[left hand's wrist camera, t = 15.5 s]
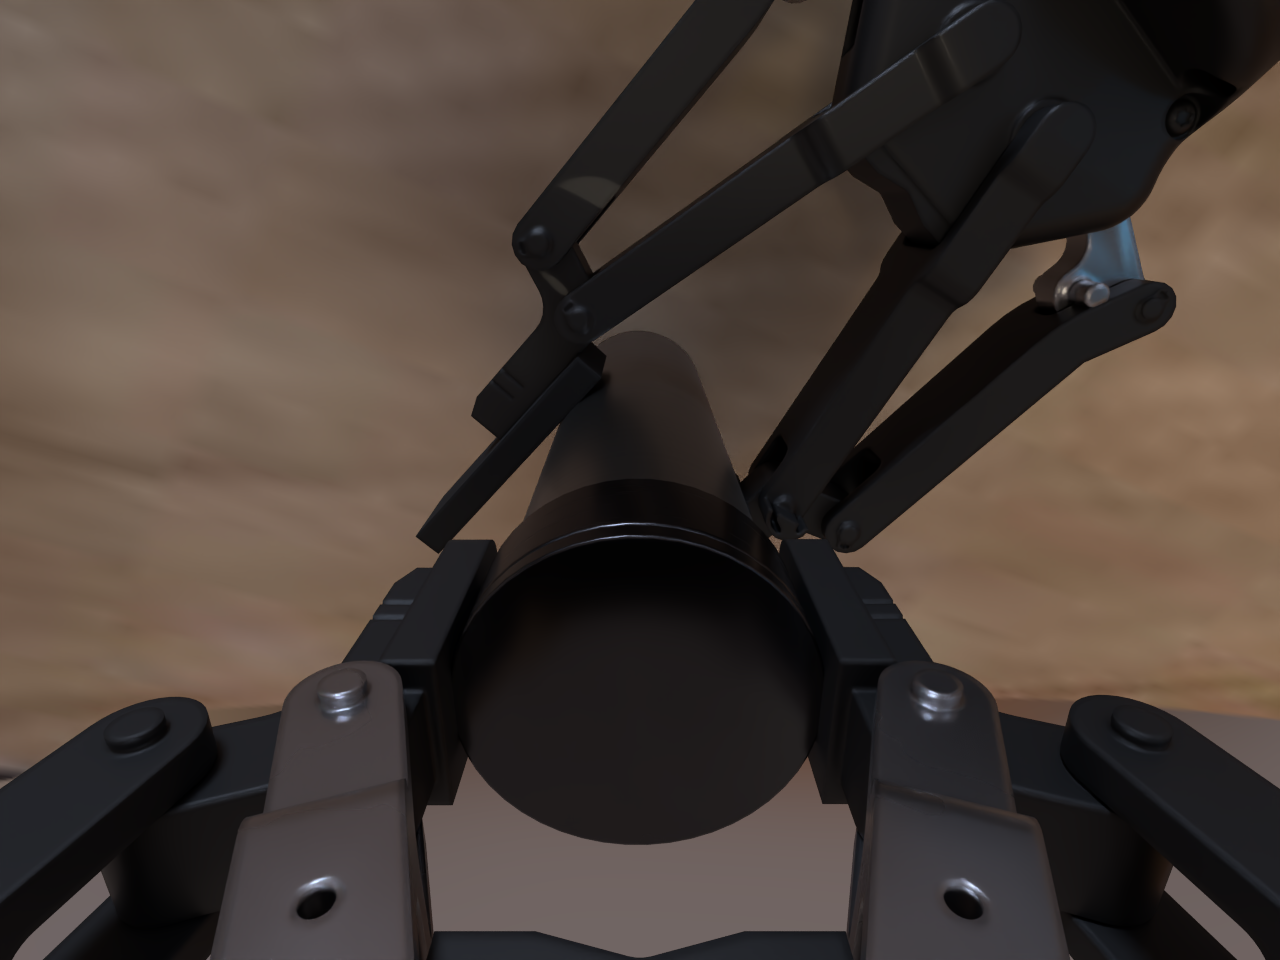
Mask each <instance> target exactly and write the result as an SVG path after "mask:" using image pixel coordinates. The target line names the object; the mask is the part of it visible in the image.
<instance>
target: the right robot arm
mask: <svg viewBox="0 0 1280 960" xmlns="http://www.w3.org/2000/svg"><path fill="white" fill-rule="evenodd" d="M773 1H774V0H695V1H694V2H693V4H692V5H691V6H690V8H689V9H688V10H687V11H686V13H685V14H684V15H683V16H682V18H681V19H680V20H679V21H678V23H677V24H676V25H675V26H674V28H673V29H672V30H671V31H670V33H669V34H668V35H667V36H666V38H665V39H664V40H663V42H662V43H661V44H660V45H659V47H658V48H657V49H656V50H655V52H654V53H653V54H652V55H651V57H650V58H649V59H648V60H647V62H646V63H645V64H644V65H643V67H642V68H641V69H640V71H639V72H638V73H637V74H636V76H635V77H634V78H633V79H632V81H631V82H630V83H629V84H628V86H627V87H626V88H625V89H624V91H623V92H622V93H621V94H620V96H619V97H618V98H617V100H616V101H615V102H614V103H613V105H612V106H611V107H610V108H609V110H608V111H607V112H606V113H605V115H604V116H603V117H602V118H601V120H600V121H599V122H598V123H597V125H596V126H595V127H594V129H593V130H592V131H591V132H590V134H589V135H588V136H587V137H586V139H585V140H584V141H583V142H582V144H581V145H580V146H579V147H578V149H577V150H576V151H575V152H574V154H573V155H572V156H571V157H570V159H569V160H568V161H567V163H566V164H565V165H564V166H563V168H562V169H561V170H560V171H559V173H558V174H557V175H556V176H555V178H554V179H553V180H552V181H551V183H550V184H549V185H548V186H547V188H546V189H545V190H544V192H543V193H542V194H541V195H540V197H539V198H538V199H537V200H536V202H535V203H534V204H533V205H532V207H531V208H530V209H529V210H528V212H527V213H526V214H525V215H524V217H523V218H522V219H521V221H520V222H519V223H518V224H517V226H516V228H515V230H514V232H513V237H512V247H513V250H514V253H515V256H516V257H517V258H518V260H519V261H520V262H521V264H523V265H525V266H526V268H527V270H528V272H529V273H530V275H531V277H532V279H533V281H534V283H535V284H536V286H537V288H538V290H539V292H540V294H541V297H542V301H543V315H542V318H541V321H540V323H539V325H538V326H537V328H536V329H535V330H534V332H533V333H532V334H531V335H530V336H529V337H528V339H527V340H526V341H525V342H524V343H523V344H522V345H521V347H520V348H519V349H518V350H517V351H516V352H515V354H514V355H513V356H512V357H511V358H510V359H509V360H508V362H507V363H506V364H505V365H504V366H503V367H502V369H501V370H500V371H499V372H498V373H497V374H496V375H495V377H494V378H493V379H492V380H491V381H490V382H489V384H488V385H487V386H486V387H485V388H484V389H483V390H482V392H481V393H480V394H479V395H478V396H477V398H476V402H475V405H474V408H473V411H472V415H471V416H472V417H473V418H474V419H475V420H477V421H478V422H479V423H480V424H481V425H483V426H484V427H485V428H486V429H487V430H489V431H490V432H491V433H492V434H493V435H495V436H496V438H495V440H494V441H493V442H492V443H491V444H490V445H489V446H488V447H487V449H486V450H485V451H484V452H483V453H482V454H481V455H480V456H479V457H478V459H477V460H476V461H475V462H474V463H473V464H472V465H471V466H470V467H469V469H468V470H467V471H466V472H465V473H464V474H463V475H462V476H461V477H460V479H459V480H458V481H457V482H456V483H455V484H454V485H453V486H452V487H451V489H450V490H449V491H448V492H447V493H446V494H445V495H444V496H443V498H442V499H441V501H440V502H439V504H438V505H437V506H436V508H435V509H434V511H433V512H432V514H431V515H430V517H429V518H428V519H427V521H426V522H425V524H424V525H423V527H422V528H421V530H420V531H419V532H418V534H417V535H416V537H417V538H418V539H420V540H421V541H422V542H423V543H425V544H426V545H427V546H429V547H430V548H431V549H433V550H434V551H435V552H437V553H438V554H439V553H440V552H441V551H442V550H443V548H444V547H445V546H446V544H447V542H448V541H449V540H452V539H453V538H454V537H455V535H456V534H457V533H458V532H459V531H460V530H461V529H462V528H463V527H464V526H465V525H466V524H467V523H468V521H469V520H470V519H471V518H472V517H473V516H474V515H475V514H476V513H477V512H478V511H479V510H480V509H481V507H482V506H483V505H484V504H485V503H486V502H487V501H488V500H489V499H490V498H491V497H492V496H493V494H494V493H495V492H496V491H497V490H498V489H499V488H500V487H501V486H502V485H503V484H504V483H505V482H506V480H507V479H508V478H509V477H510V476H511V475H512V474H513V473H514V472H515V471H516V470H517V469H518V467H519V466H520V465H521V464H522V463H523V462H524V461H525V460H526V459H527V458H528V457H529V456H530V455H531V453H532V452H533V451H534V450H535V449H536V448H537V447H538V446H539V445H540V444H541V443H542V442H543V441H544V439H545V438H546V437H547V436H548V435H549V434H550V433H551V432H552V431H553V430H554V429H555V428H556V426H557V425H558V424H559V423H560V422H561V421H562V420H563V419H564V418H565V417H566V416H567V415H568V414H569V412H570V411H571V410H572V409H573V408H574V407H575V406H576V405H577V404H578V403H579V402H580V401H581V399H582V398H583V397H584V396H585V395H586V394H587V393H588V392H589V391H590V390H591V389H592V388H593V387H594V385H595V384H596V383H597V382H598V381H599V380H600V379H601V376H602V372H603V368H604V364H605V361H606V357H607V356H606V355H605V354H604V353H603V352H602V351H601V350H600V349H599V348H597V347H596V346H595V345H594V344H593V343H592V341H594V340H596V339H597V338H598V337H600V336H601V335H603V334H604V333H606V332H607V331H609V330H610V329H612V328H613V327H614V326H616V325H617V324H619V323H620V322H622V321H623V320H625V319H626V318H628V317H629V316H631V315H632V314H633V313H635V312H636V311H638V310H639V309H641V308H642V307H644V306H645V305H647V304H648V303H649V302H651V301H652V300H654V299H655V298H657V297H658V296H660V295H661V294H663V293H664V292H666V291H667V290H668V289H670V288H671V287H673V286H674V285H676V284H677V283H679V282H680V281H682V280H683V279H684V278H686V277H687V276H689V275H690V274H692V273H693V272H695V271H696V270H698V269H699V268H701V267H702V266H703V265H705V264H706V263H708V262H709V261H711V260H712V259H714V258H715V257H717V256H718V255H719V254H721V253H722V252H724V251H725V250H727V249H728V248H730V247H731V246H733V245H734V244H736V243H737V242H738V241H740V240H741V239H743V238H744V237H746V236H747V235H749V234H750V233H752V232H753V231H754V230H756V229H757V228H759V227H760V226H762V225H763V224H765V223H766V222H768V221H769V220H770V219H772V218H773V217H775V216H776V215H778V214H779V213H781V212H782V211H784V210H785V209H787V208H788V207H789V206H791V205H792V204H794V203H795V202H797V201H798V200H800V199H801V198H803V197H804V196H805V195H807V194H808V193H810V192H811V191H813V190H814V189H816V188H817V187H819V186H820V185H822V184H824V183H825V182H827V181H829V180H831V179H833V178H835V177H837V176H838V175H840V174H842V173H843V172H845V171H846V170H848V171H849V172H850V173H851V175H852V176H853V177H855V178H856V179H858V180H860V181H861V182H863V183H865V184H866V185H868V186H869V187H871V188H873V189H874V190H876V191H878V192H879V193H880V194H881V196H882V198H883V200H884V202H885V204H886V206H887V209H888V211H889V213H890V215H891V217H892V219H893V221H894V223H895V224H896V225H897V227H898V228H899V229H900V230H901V231H902V232H901V233H900V235H899V236H898V238H897V239H896V241H895V242H894V244H893V245H892V247H891V248H890V250H889V251H888V253H887V254H886V256H885V258H884V259H883V262H882V264H881V268H880V273H879V276H878V278H877V279H876V281H875V282H874V284H873V285H872V287H871V288H870V290H869V291H868V293H867V294H866V296H865V297H864V299H863V300H862V302H861V303H860V305H859V306H858V307H857V309H856V310H855V312H854V313H853V315H852V316H851V318H850V319H849V321H848V322H847V324H846V325H845V327H844V328H843V330H842V331H841V333H840V334H839V336H838V337H837V339H836V340H835V342H834V343H833V345H832V346H831V347H830V349H829V350H828V352H827V353H826V355H825V356H824V358H823V359H822V361H821V362H820V364H819V365H818V367H817V368H816V370H815V371H814V373H813V374H812V376H811V377H810V379H809V380H808V382H807V383H806V385H805V386H804V387H803V389H802V390H801V392H800V393H799V395H798V396H797V398H796V399H795V401H794V402H793V404H792V405H791V407H790V408H789V410H788V411H787V413H786V414H785V416H784V417H783V419H782V420H781V422H780V423H779V425H778V426H777V427H776V429H775V430H774V432H773V433H772V435H771V436H770V438H769V439H768V441H767V442H766V444H765V445H764V447H763V448H762V450H761V451H760V453H759V454H758V456H757V457H756V459H755V460H754V462H753V463H752V465H751V467H750V469H749V472H748V476H747V477H746V478H745V479H744V480H743V481H741V482H740V480H739V477H738V475H737V474H735V475H736V478H737V480H738V483H739V486H740V488H741V491H742V494H743V496H744V499H745V502H746V504H747V507H748V510H749V513H750V515H751V518H752V521H753V522H754V523H755V524H756V525H757V526H758V527H759V528H760V529H761V530H762V531H763V532H764V533H765V534H766V536H767V537H768V538H769V537H770V536H772V535H773V536H774V537H775V538H777V539H781V540H783V539H798V538H800V537H802V536H804V535H805V534H806V533H808V534H811V535H813V536H816V537H818V538H821V539H826V540H828V542H829V543H830V545H831V547H832V548H833V549H834V550H835V551H837V552H842V553H849V552H855V551H856V550H858V549H860V548H862V547H863V546H864V545H866V544H867V543H868V542H869V541H870V540H872V539H873V538H874V537H875V536H876V535H878V534H879V533H880V532H881V531H882V530H884V529H885V528H886V527H887V526H888V525H890V524H891V523H892V522H893V521H894V520H896V519H897V518H898V517H899V516H900V515H902V514H903V513H904V512H905V511H906V510H908V509H909V508H910V507H911V506H912V505H914V504H915V503H916V502H917V501H918V500H920V499H921V498H922V497H923V496H924V495H926V494H927V493H928V492H929V491H930V490H932V489H933V488H934V487H935V486H936V485H938V484H939V483H940V482H941V481H942V480H944V479H945V478H946V477H947V476H948V475H950V474H951V473H952V472H953V471H954V470H956V469H957V468H958V467H959V466H960V465H962V464H963V463H964V462H965V461H966V460H968V459H969V458H970V457H971V456H972V455H974V454H975V453H976V452H977V451H978V450H980V449H981V448H982V447H983V446H984V445H986V444H987V443H988V442H989V441H990V440H992V439H993V438H994V437H995V436H996V435H998V434H999V433H1000V432H1001V431H1002V430H1004V429H1005V428H1006V427H1007V426H1008V425H1010V424H1011V423H1012V422H1013V421H1014V420H1016V419H1017V418H1018V417H1019V416H1020V415H1022V414H1023V413H1024V412H1025V411H1026V410H1028V409H1029V408H1030V407H1031V406H1032V405H1034V404H1035V403H1036V402H1037V401H1038V400H1040V399H1041V398H1042V397H1043V396H1044V395H1046V394H1047V393H1048V392H1049V391H1050V390H1052V389H1053V388H1054V387H1055V386H1056V385H1058V384H1059V383H1060V382H1061V381H1062V380H1064V379H1065V378H1066V377H1067V376H1068V375H1070V374H1071V373H1072V372H1073V371H1074V370H1076V369H1077V368H1078V367H1079V366H1080V365H1082V364H1083V363H1084V362H1086V361H1089V360H1091V359H1093V358H1096V357H1098V356H1100V355H1102V354H1105V353H1107V352H1109V351H1111V350H1114V349H1116V348H1118V347H1121V346H1123V345H1125V344H1127V343H1130V342H1132V341H1134V340H1137V339H1139V338H1141V337H1143V336H1146V335H1148V334H1150V333H1152V332H1155V331H1156V330H1158V329H1159V328H1161V327H1163V326H1164V325H1165V324H1166V323H1167V322H1168V321H1169V319H1170V318H1171V317H1172V315H1173V313H1174V310H1175V308H1176V295H1175V293H1174V291H1173V289H1172V288H1171V287H1170V286H1168V285H1167V284H1165V283H1162V282H1155V281H1148V280H1145V279H1144V276H1143V272H1142V268H1141V263H1140V259H1139V254H1138V250H1137V246H1136V241H1135V237H1134V232H1133V228H1132V223H1131V219H1130V216H1132V215H1133V214H1134V213H1135V212H1136V211H1137V210H1138V209H1139V208H1140V207H1141V206H1142V205H1143V203H1144V202H1145V201H1146V199H1147V198H1148V196H1149V195H1150V193H1151V191H1152V189H1153V187H1154V185H1155V183H1156V181H1157V178H1158V176H1159V174H1160V172H1161V170H1162V169H1163V167H1164V165H1165V164H1166V162H1167V160H1168V159H1169V157H1170V156H1171V155H1172V153H1173V152H1174V151H1175V149H1176V148H1177V147H1178V146H1179V145H1180V144H1181V143H1182V142H1183V141H1184V140H1185V139H1186V138H1187V137H1188V136H1190V135H1191V134H1192V133H1193V132H1195V131H1196V130H1197V129H1199V128H1200V127H1201V126H1203V125H1204V124H1205V123H1207V122H1208V121H1209V120H1211V119H1212V118H1213V117H1215V116H1216V115H1217V114H1219V113H1220V112H1221V111H1222V110H1224V109H1225V108H1226V107H1227V106H1229V105H1230V104H1231V103H1232V102H1234V101H1235V100H1236V99H1237V98H1238V97H1240V96H1241V95H1242V94H1243V93H1244V92H1245V91H1246V90H1248V89H1249V88H1250V87H1251V86H1252V85H1253V84H1254V83H1255V82H1256V81H1257V80H1259V79H1260V78H1261V77H1262V76H1263V75H1264V74H1265V73H1266V72H1267V71H1268V70H1270V69H1271V68H1272V67H1273V66H1274V65H1275V64H1276V63H1277V62H1278V61H1279V60H1280V0H853V1H852V6H851V11H850V16H849V21H848V26H847V31H846V36H845V41H844V46H843V51H842V56H841V61H840V66H839V71H838V76H837V81H836V86H835V91H834V96H833V101H832V102H831V103H830V104H829V105H827V106H826V107H824V108H823V109H822V110H820V111H819V112H817V113H816V114H815V115H813V116H812V117H810V118H809V119H808V120H806V121H805V122H803V123H802V124H801V125H799V126H798V127H796V128H795V129H793V130H792V131H791V132H789V133H788V134H787V135H785V136H784V137H783V138H781V139H780V140H779V141H778V142H776V143H775V144H773V145H772V146H771V147H769V148H768V149H767V150H765V151H764V152H762V153H761V154H759V155H758V156H757V157H755V158H754V159H752V160H751V161H750V162H748V163H747V164H745V165H744V166H743V167H741V168H740V169H738V170H737V171H736V172H734V173H733V174H731V175H730V176H729V177H727V178H726V179H724V180H723V181H722V182H720V183H719V184H717V185H716V186H714V187H713V188H712V189H710V190H709V191H707V192H706V193H705V194H703V195H702V196H700V197H699V198H698V199H696V200H695V201H693V202H692V203H691V204H689V205H688V206H686V207H685V208H684V209H682V210H681V211H679V212H678V213H677V214H675V215H674V216H672V217H671V218H670V219H668V220H667V221H665V222H664V223H662V224H661V225H660V226H658V227H657V228H655V229H654V230H653V231H651V232H650V233H648V234H647V235H646V236H644V237H643V238H641V239H640V240H639V241H637V242H636V243H634V244H633V245H632V246H630V247H629V248H627V249H626V250H625V251H623V252H622V253H620V254H619V255H617V256H616V257H615V258H613V259H612V260H610V261H609V262H608V263H606V264H605V265H603V266H602V267H601V268H599V269H598V270H596V271H595V272H594V273H593V272H592V270H591V268H590V266H589V264H588V262H587V260H586V258H585V256H584V255H583V253H582V251H581V249H580V247H579V245H578V244H579V243H580V241H581V240H582V239H583V238H584V237H585V235H586V234H587V233H588V232H589V231H590V229H591V228H592V227H593V226H594V225H595V223H596V222H597V221H598V220H599V219H600V217H601V216H602V215H603V214H604V213H605V211H606V210H607V209H608V208H609V207H610V205H611V204H612V203H613V202H614V201H615V199H616V198H617V197H618V196H619V195H620V193H621V192H622V191H623V190H624V189H625V187H626V186H627V185H628V184H629V183H630V181H631V180H632V179H633V178H634V177H635V175H636V174H637V173H638V172H639V171H640V169H641V168H642V167H643V166H644V165H645V163H646V162H647V161H648V160H649V159H650V157H651V156H652V155H653V154H654V153H655V151H656V150H657V149H658V148H659V147H660V145H661V144H662V143H663V142H664V141H665V139H666V138H667V137H668V136H669V135H670V133H671V132H672V131H673V130H674V129H675V127H676V126H677V125H678V124H679V123H680V121H681V120H682V119H683V118H684V117H685V115H686V114H687V113H688V112H689V111H690V109H691V108H692V107H693V106H694V105H695V103H696V102H697V101H698V100H699V99H700V97H701V96H702V95H703V94H704V92H705V91H706V90H707V89H708V88H709V86H710V85H711V84H712V83H713V82H714V80H715V79H716V78H717V77H718V76H719V74H720V73H721V72H722V71H723V70H724V68H725V67H726V66H727V65H728V64H729V62H730V61H731V60H732V59H733V58H734V56H735V55H736V54H737V53H738V52H739V50H740V49H741V48H742V47H743V46H744V44H745V43H746V42H747V40H748V39H749V38H750V36H751V35H752V34H753V32H754V31H755V30H756V28H757V27H758V25H759V24H760V22H761V20H762V19H763V17H764V16H765V14H766V12H767V11H768V9H769V8H770V6H771V5H772V3H773ZM783 1H785V2H789V3H801V2H804V1H806V0H783ZM1063 238H1067V243H1066V248H1065V251H1064V253H1063V255H1062V257H1061V258H1060V259H1059V261H1058V262H1057V263H1056V264H1055V265H1053V266H1052V267H1051V268H1049V269H1048V270H1047V271H1046V272H1044V273H1043V275H1041V276H1039V277H1038V278H1037V279H1036V280H1035V282H1034V284H1033V291H1034V293H1035V297H1034V298H1032V299H1030V300H1029V301H1027V302H1025V303H1023V304H1021V305H1020V306H1018V307H1016V308H1015V309H1013V310H1012V311H1010V312H1009V313H1007V314H1006V315H1005V316H1003V317H1002V318H1001V319H1000V320H998V321H997V322H996V323H995V324H993V325H992V326H991V327H990V328H989V329H987V330H986V331H985V332H984V333H983V334H982V335H981V336H980V337H978V338H977V339H976V340H975V341H974V342H973V343H972V344H971V345H969V346H968V347H967V348H966V349H965V350H964V351H963V352H962V353H960V354H959V355H958V356H957V357H956V358H955V359H954V360H952V361H951V362H950V363H949V364H948V365H947V366H946V367H945V368H943V369H942V370H941V371H940V372H939V373H938V374H937V375H936V376H934V377H933V378H932V379H931V380H930V381H929V382H928V383H927V384H925V385H924V386H923V387H922V388H921V389H920V390H919V391H918V392H916V393H915V394H914V395H913V396H912V397H911V398H910V399H909V400H907V401H906V402H905V403H904V404H903V405H902V406H901V407H899V408H898V409H897V410H896V411H895V412H894V413H893V414H892V415H890V416H889V417H888V418H887V419H886V420H885V421H884V422H883V423H881V424H880V425H879V426H878V427H877V428H876V429H875V430H874V431H872V432H871V433H870V434H869V435H868V436H867V437H866V438H865V439H863V440H862V441H861V442H860V443H859V444H858V445H857V446H855V445H856V444H857V443H858V441H859V440H860V438H861V437H862V436H863V434H864V433H865V432H866V430H867V429H868V427H869V426H870V425H871V423H872V422H873V421H874V419H875V418H876V416H877V415H878V414H879V412H880V411H881V410H882V408H883V407H884V405H885V404H886V403H887V401H888V400H889V399H890V397H891V396H892V394H893V393H894V392H895V390H896V389H897V388H898V386H899V385H900V383H901V382H902V381H903V379H904V378H905V377H906V375H907V374H908V372H909V371H910V370H911V368H912V367H913V366H914V364H915V363H916V361H917V360H918V359H919V357H920V356H921V355H922V353H923V352H924V350H925V349H926V348H927V346H928V345H929V344H930V342H931V341H932V339H933V338H934V337H935V335H936V334H937V332H938V331H939V330H940V328H941V327H942V326H943V324H944V323H945V321H946V320H947V319H948V317H949V316H950V315H951V314H952V313H953V312H954V311H955V310H956V309H957V308H959V307H961V306H963V305H965V304H967V303H968V302H969V301H970V300H971V299H972V298H974V296H975V295H976V294H977V293H978V292H979V291H980V289H981V288H982V286H983V285H984V284H985V282H986V281H987V280H988V278H989V277H990V275H991V274H992V273H993V271H994V270H995V269H996V267H997V266H998V265H999V263H1000V262H1001V260H1002V259H1003V258H1004V256H1005V255H1006V254H1007V252H1008V251H1009V250H1010V249H1012V248H1017V247H1022V246H1027V245H1032V244H1038V243H1043V242H1048V241H1053V240H1058V239H1063Z"/></svg>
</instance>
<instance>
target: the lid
mask: <svg viewBox="0 0 1280 960" xmlns="http://www.w3.org/2000/svg"><path fill="white" fill-rule="evenodd" d="M451 677H452V687H453V696H454V705H455V713H456V722H457V730H458V736H459V739H460V741H461V744H462V746H463V748H464V751H465V753H466V754H467V756H468V757H469V759H470V761H471V762H472V764H473V765H474V767H475V769H476V770H477V771H478V772H479V774H480V775H481V776H482V777H483V778H484V780H485V781H486V782H487V783H488V785H489V786H490V787H492V788H493V789H494V790H495V791H496V792H497V793H498V794H499V795H500V796H501V797H502V798H503V799H504V800H506V801H507V802H509V803H510V804H511V805H513V806H514V807H515V808H517V809H518V810H520V811H521V812H522V813H524V814H526V815H528V816H529V817H531V818H533V819H535V820H536V821H538V822H540V823H542V824H545V825H547V826H549V827H552V828H554V829H556V830H558V831H561V832H564V833H567V834H571V835H574V836H577V837H580V838H584V839H589V840H594V841H599V842H604V843H614V844H624V845H651V844H661V843H671V842H676V841H681V840H687V839H691V838H695V837H698V836H702V835H705V834H708V833H712V832H714V831H717V830H719V829H722V828H724V827H726V826H729V825H731V824H733V823H735V822H737V821H739V820H741V819H742V818H744V817H746V816H748V815H750V814H751V813H753V812H754V811H756V810H757V809H759V808H760V807H761V806H763V805H764V804H766V803H767V802H768V801H770V800H771V799H772V798H773V797H774V796H775V795H776V794H777V793H779V792H780V791H781V790H782V789H783V788H784V787H785V786H786V785H787V784H788V782H789V781H790V780H791V779H792V778H793V777H794V775H795V774H796V773H797V772H798V771H799V769H800V767H801V766H802V764H803V763H804V761H805V760H806V758H807V757H808V755H809V753H810V751H811V749H812V747H813V745H814V742H815V740H816V738H817V733H818V726H819V717H820V709H821V700H822V691H823V682H824V665H823V660H822V655H821V652H820V649H819V646H818V644H817V641H816V638H815V636H814V633H813V631H812V628H811V626H810V623H809V621H808V619H807V616H806V614H805V611H804V609H803V607H802V604H801V602H800V599H799V597H798V595H797V592H796V590H795V587H794V585H793V583H792V580H791V578H790V575H789V573H788V571H787V568H786V566H785V564H784V562H783V560H782V558H781V556H780V555H779V553H778V551H777V549H776V548H775V546H774V545H773V544H772V542H771V541H770V540H769V538H768V537H767V536H766V534H765V533H764V532H763V531H762V530H761V529H760V528H759V527H758V526H757V525H756V524H755V523H754V522H753V521H752V520H751V519H750V518H749V517H747V516H746V515H745V514H743V513H742V512H741V511H739V510H738V509H737V508H735V507H734V506H733V505H731V504H729V503H727V502H725V501H724V500H722V499H720V498H718V497H716V496H715V495H712V494H710V493H707V492H705V491H702V490H700V489H697V488H695V487H691V486H687V485H683V484H679V483H676V482H671V481H663V480H656V479H621V480H612V481H605V482H601V483H596V484H592V485H588V486H584V487H582V488H579V489H576V490H574V491H571V492H568V493H566V494H563V495H562V496H560V497H558V498H556V499H554V500H552V501H550V502H548V503H547V504H545V505H543V506H542V507H541V508H539V509H538V510H536V511H535V512H534V513H532V514H531V515H530V516H528V517H527V518H526V519H525V520H524V521H523V522H522V523H521V524H520V525H519V526H518V527H517V528H516V529H515V530H513V532H512V533H511V534H510V536H509V537H508V538H507V539H506V541H505V542H504V543H503V544H502V546H501V547H500V549H499V551H498V553H497V554H496V556H495V558H494V559H493V561H492V563H491V565H490V568H489V570H488V573H487V575H486V577H485V580H484V582H483V584H482V587H481V589H480V592H479V594H478V596H477V599H476V601H475V603H474V606H473V608H472V611H471V613H470V615H469V618H468V620H467V622H466V625H465V627H464V629H463V632H462V634H461V637H460V640H459V642H458V645H457V647H456V650H455V653H454V658H453V662H452V667H451Z"/></svg>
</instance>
